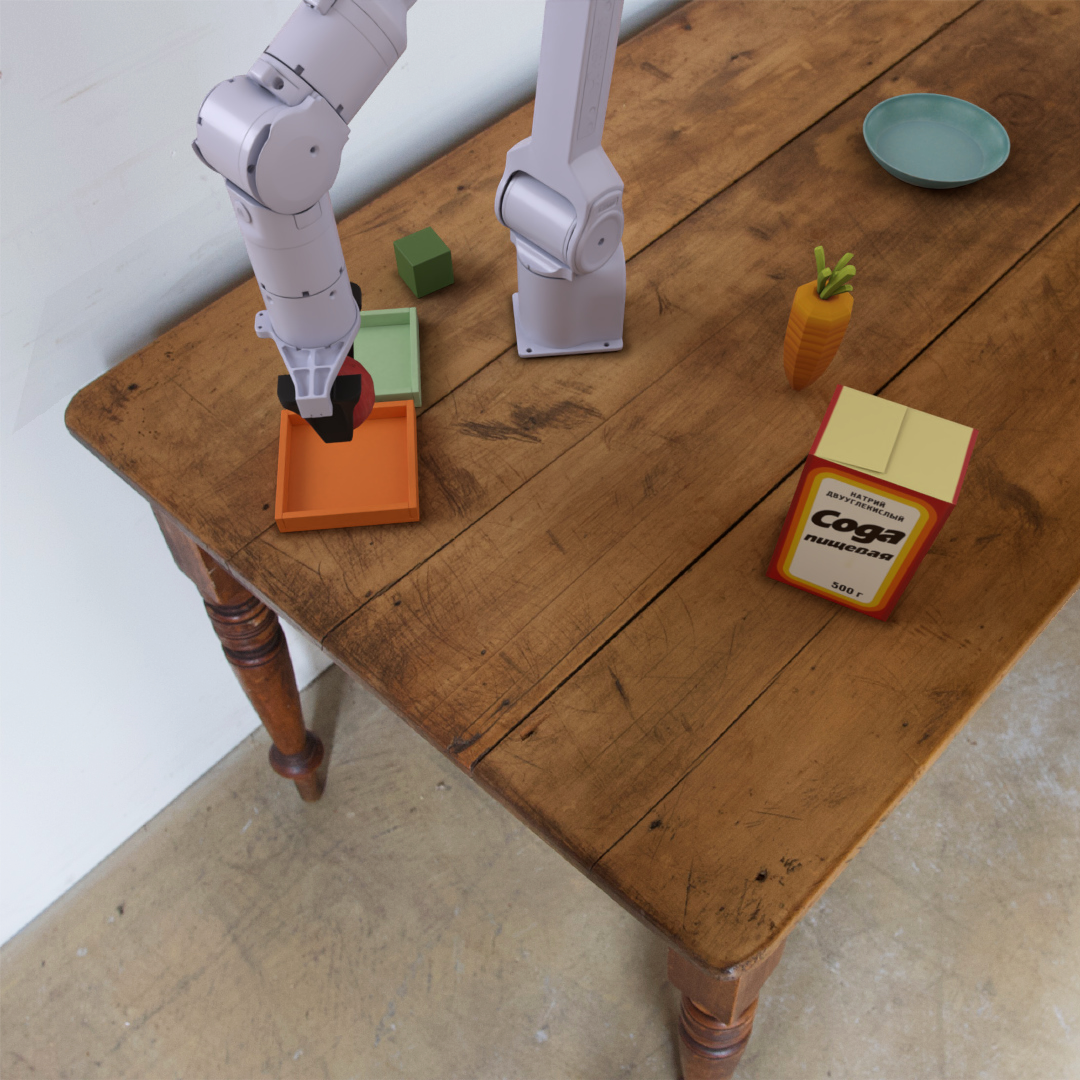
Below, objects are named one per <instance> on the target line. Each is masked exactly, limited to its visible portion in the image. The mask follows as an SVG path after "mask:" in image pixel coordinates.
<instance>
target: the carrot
mask: <svg viewBox="0 0 1080 1080" xmlns="http://www.w3.org/2000/svg"><path fill="white" fill-rule="evenodd" d="M813 249H814V250H813V251H814V258H815V262H816V270H817V271H816V272H817V278H816V279H814V280H811V281H809V282H807V283H805V284H802V285H800V286H798V287H797V289H796V291H795V294H794V297H793V301H792V305H791V309H790V313H789V316H788V317H789V318H788V320H787V325H786V331H785V336H784V341H783V353H782V354H783V356H782V357H783V360H782V361H783V370H784V374H785V377H786V379H787V380H786V381H787V382H788V384H789V387H790V388H791V389H792V390H793V391H794V392H802V391H803V390H805V389H807V388H808V387H810V386H811V385H813V384H814V383H816V381H817V380H818V379H819V378H821V377H822V376H823V375H824V373H825V372H826V371H827V369H828V368H829V366H830V364H831V363H832V361H833V360H834V358H835V357H836V355H837V353H838V351H839V349H840V346H841V344H842V342H843V339H844V337H845V335H846V332H847V329H848V327H849V323H850V322H851V317H852V312H853V307H854V301H855V300H854V299H855V298H854V297H853V296H852V295H851V293H850V292H853V290H854V287H853V286H852V284H850V283H849V284H848V283H847V282H849V281H850V280H852V278H854V277H855V276H856V274H857V269H856V266H855V265H852V264H848V263H849V262H850V261H851V260H852V258H853V257H854V256H855V254H853V253H851V252H846V253H845V254H844V255H842V257H841V258H840V259H839V261H838V262H837V263H836V265H835V266H834V267H833V269H832V270H831V268H830V267H829V266H828V267H826V257H825V250H824V247H823V245H817V246H816V247H815V248H813ZM846 283H847V284H846Z"/></svg>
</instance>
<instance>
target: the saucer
mask: <svg viewBox="0 0 1080 1080" xmlns="http://www.w3.org/2000/svg"><path fill="white" fill-rule="evenodd" d="M862 134H863V138H864V141H865V144H866V146H867V148H868V150H869V152H870V154H871V155H872V157H873V159H875V161H876V162H877V163H878V164H879V166H880V167H882V168H883V169H884V170H885V171H886V172H887V173H889V174H890V175H891V176H893V177H895V178H896V179H898V180H900V181H902V182H904V183H907V184H909V185H913V186H916V187H921V188H926V189H935V190H944V189H946V190H947V189H953V188H958V187H959V188H960V187H963V186H966V185H969V184H973V183H975V182H978V181H979V180H982V179H985V178H986V177H988V176H989V175H991V174H992V173H994V172H995V171H997V170H998V169H1000V168H1001V166H1003V165H1004V164H1005V162H1006V161H1007V160H1008V158H1009V155H1010V153H1011V140H1010V137H1009V135H1008V132H1007V130H1006V128H1005V127H1004V126H1003V125H1002V123H1001V122H1000V121H999V120H998V119H997V118H996V117H995V116H993V115H992V114H991V113H990V112H988V111H987V110H985V109H984V108H981V107H979V105H976V104H974V103H971V102H970V101H967V100H964V99H962V98H959V97H954V96H951V95H945V94H941V93H939V94H938V93H933V92H932V93H929V92H915V93H914V92H913V93H912V92H911V93H903V94H900V95H895V96H892V97H889V98H886V99H884V100H882V101H881V102H878V103H877V104H876V105H875V106H873V107H872V108H871V109H870V111H869V112H868V113H867V114H866V115H865V118H864V119H863V124H862Z"/></svg>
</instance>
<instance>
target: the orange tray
mask: <svg viewBox="0 0 1080 1080" xmlns="http://www.w3.org/2000/svg"><path fill="white" fill-rule="evenodd" d="M417 435H418V431H417V412H416V407H415V406H414V401H413V400H407V401H406V400H403V401H390V402H378V403H374V406H373V409H372V412H371V414H370V415H369V416H368V418H367V419H366V420H365V421H364V422H363V423H362V424H361V425H360V426H359V427H358V428H356V429H354V430H353V438H352V441H350V442H338V443H325V442H324V441H323V440H322V439H321V438H320V436H319V435H318V434H317V433H316V431H315V430H314V429H313V428H312V426H311V425H310V424H309V423H307V422H306V420H305V419H304V418H302V417H301V416H300V415H298V414H296V413H294V412H292V411H290V410H287V409H282V410H281V411H280V427H279V440H278V441H279V443H278V459H277V473H276V475H277V476H276V491H275V506H274V520H275V523H276V525H277V528H278V530H279V533H280V534H281V533H293V532H294V533H295V532H304V531H317V530H329V529H330V530H331V529H341V528H342V529H343V528H351V527H352V528H353V527H354V528H355V527H363V526H364V527H366V526H378V525H389V524H402V523H414V522H420V498H419V497H420V495H419V493H420V491H419V467H418V466H419V464H418V437H417Z"/></svg>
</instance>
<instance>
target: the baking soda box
mask: <svg viewBox="0 0 1080 1080" xmlns="http://www.w3.org/2000/svg"><path fill="white" fill-rule="evenodd" d="M979 432H980V429H976V428H973V427H971V426H967V425H964V424H961V423H959V422H955V421H952V420H949V419H946V418H943V417H940V416H937V415H934V414H930V413H928V412H926V411H921V410H919V409H915V408H913V407H909V406H907V405H904V404H901V403H898V402H895V401H892V400H889V399H885V398H883V397H879V396H876V395H873V394H870V393H867V392H864V391H861V390H858V389H855V388H851V387H849V386H846V385H842V384H840V383H837V384H836V387H835V389H834V392H833V395H832V397H831V399H830V402H829V403H828V406H827V408H826V411H825V413H824V415H823V418H822V420H821V423H820V425H819V428H818V430H817V431H816V435H815V436H814V440H813V442H812V445H811V447H810V449H809V452H808V454H807V457H806V460H805V462H804V466H803V468H802V472H801V474H800V477H799V479H798V482H797V485H796V488H795V490H794V493H793V496H792V499H791V502H790V505H789V507H788V511H787V513H786V517H785V518H784V521H783V525H782V527H781V530H780V532H779V536H778V538H777V542H776V544H775V547H774V550H773V552H772V555H771V558H770V561H769V564H768V567H767V570H766V572H765V576H764V577H767V578H770V579H772V580H775V581H777V582H779V583H782V584H785V585H788V586H790V587H793V588H796V589H798V590H800V591H803V592H806V593H808V594H811V595H813V596H816V597H819V598H821V599H825V600H827V601H829V602H832V603H834V604H836V605H840V606H842V607H845V608H848V609H850V610H853V611H856V612H858V613H861V614H863V615H865V616H866V615H867V616H868V617H871V618H873V619H876V620H879V621H882V622H884V623H886V622H887V620H888V618H889V617H890V615H891V613H892V612H893V610H894V609H895V607H896V605H897V603H898V602H899V601H900V599H901V597H902V596H903V594H904V592H905V590H906V589H907V587H908V585H909V584H910V582H911V580H912V579H913V578H914V576H915V573H916V572H917V570H918V569H919V567H920V565H921V564H922V562H923V560H924V559H925V557H926V556H927V554H928V553H929V551H930V549H931V547H932V546H933V544H934V542H935V540H936V539H937V537H938V536H939V534H940V532H941V531H942V529H943V527H944V526H945V524H946V523H947V521H948V520H949V518H950V516H951V514H952V513H953V511H954V509H955V507H956V506H957V504H958V500H959V497H960V494H961V491H962V487H963V484H964V481H965V478H966V475H967V471H968V468H969V464H970V461H971V457H972V455H973V452H974V448H975V445H976V442H977V438H978V435H979Z"/></svg>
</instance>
